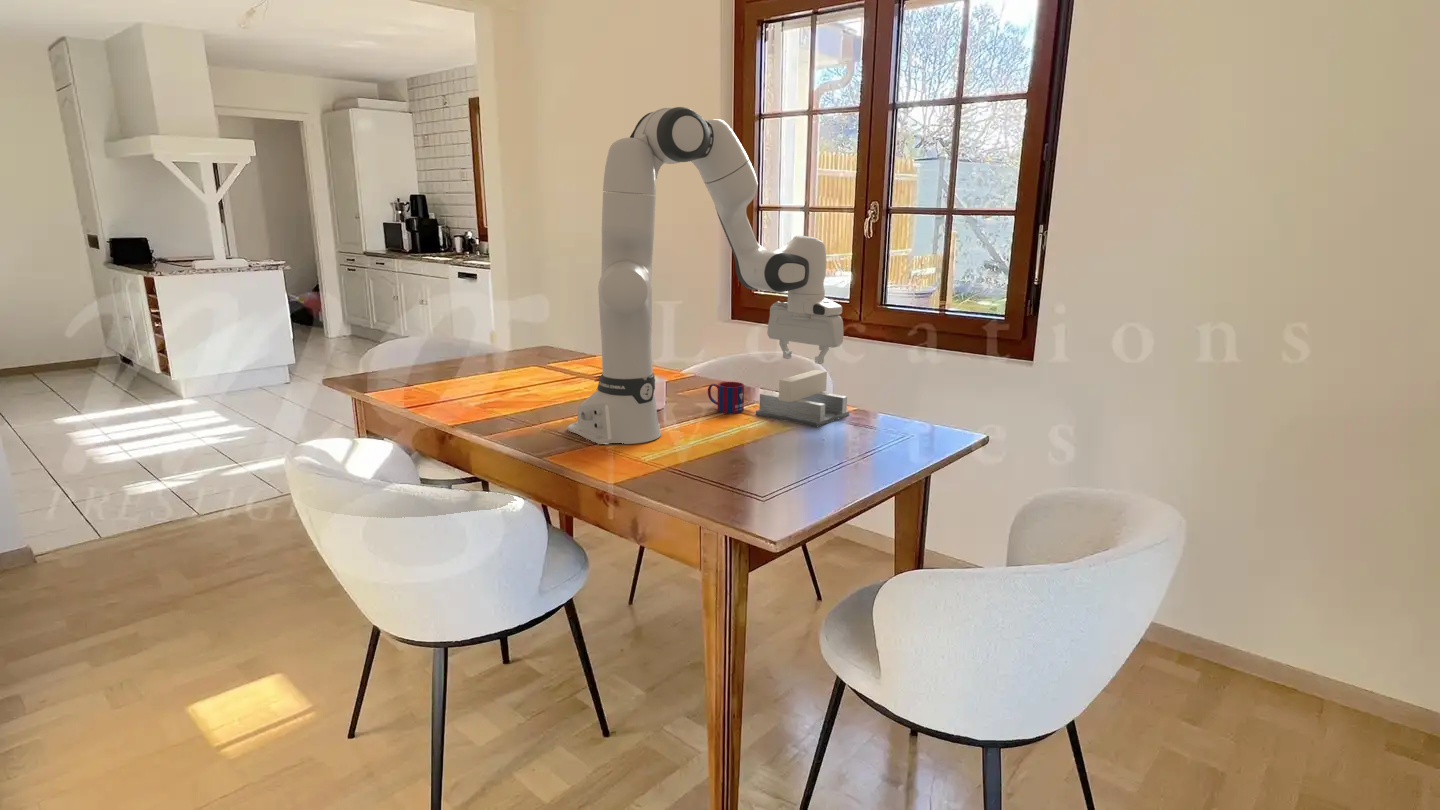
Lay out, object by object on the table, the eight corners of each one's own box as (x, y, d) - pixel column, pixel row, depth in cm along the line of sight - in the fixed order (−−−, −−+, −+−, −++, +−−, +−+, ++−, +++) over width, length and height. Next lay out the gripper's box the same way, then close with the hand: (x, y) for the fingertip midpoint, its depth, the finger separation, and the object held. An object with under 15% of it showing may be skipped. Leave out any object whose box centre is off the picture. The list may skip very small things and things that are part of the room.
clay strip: (778, 399, 189) (779, 379, 188) (814, 388, 201) (815, 369, 200) (790, 402, 187) (791, 381, 186) (826, 390, 199) (826, 371, 198)
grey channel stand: (755, 414, 195) (756, 394, 194) (790, 403, 206) (790, 385, 205) (816, 427, 184) (817, 406, 183) (849, 414, 195) (850, 395, 194)
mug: (733, 415, 194) (733, 388, 193) (702, 409, 200) (702, 383, 199) (748, 410, 200) (749, 384, 198) (718, 404, 206) (718, 378, 204)
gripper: (763, 301, 193) (761, 356, 196) (834, 309, 180) (831, 368, 183) (778, 300, 197) (775, 353, 201) (848, 307, 185) (844, 365, 188)
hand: (802, 361), depth 192 cm, fingers open, 8 cm apart
